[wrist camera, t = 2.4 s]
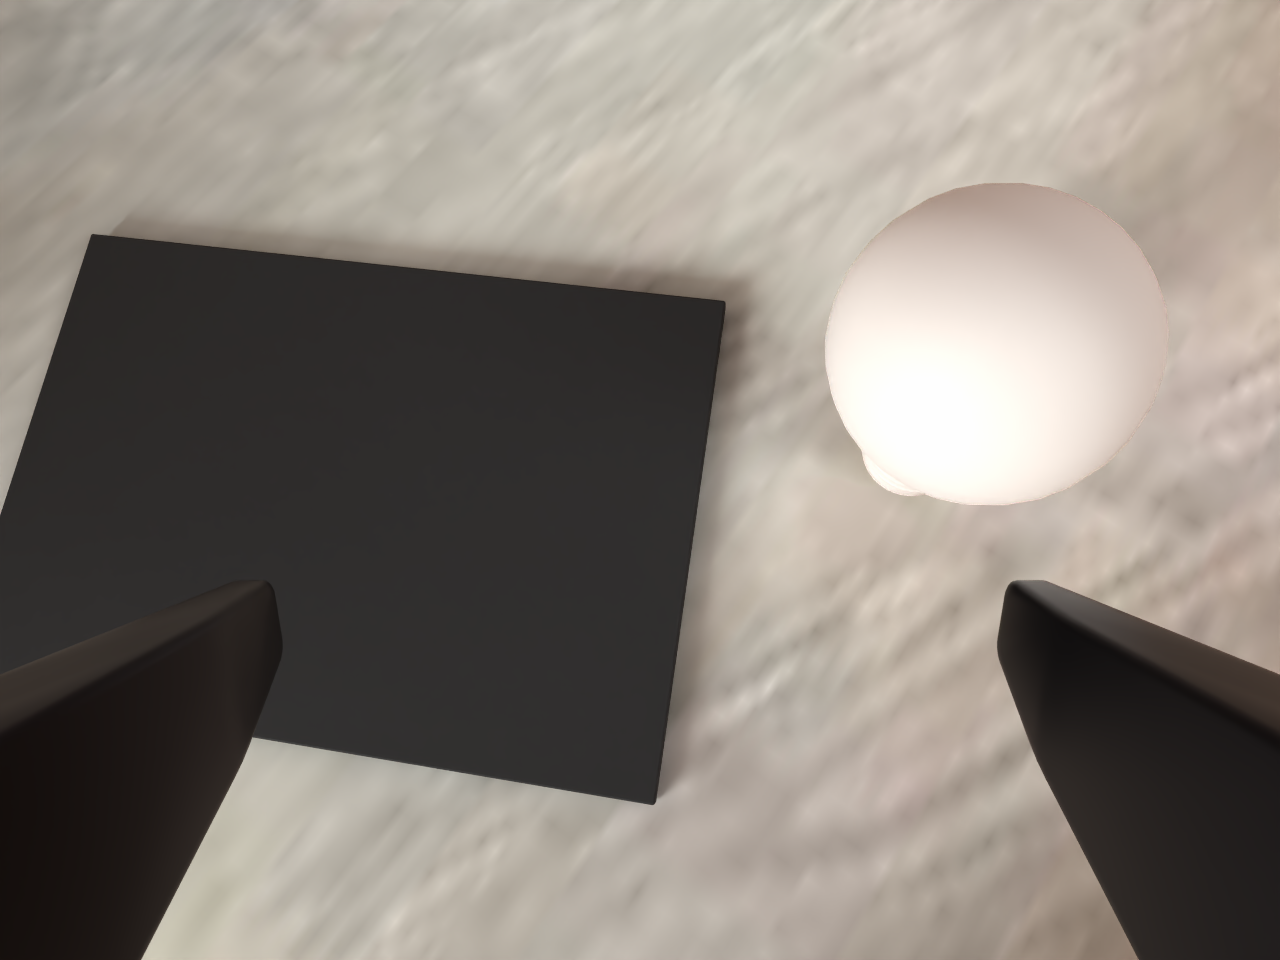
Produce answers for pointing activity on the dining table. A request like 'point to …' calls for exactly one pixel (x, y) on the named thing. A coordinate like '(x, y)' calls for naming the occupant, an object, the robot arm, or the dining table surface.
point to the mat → (380, 496)
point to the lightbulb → (995, 345)
